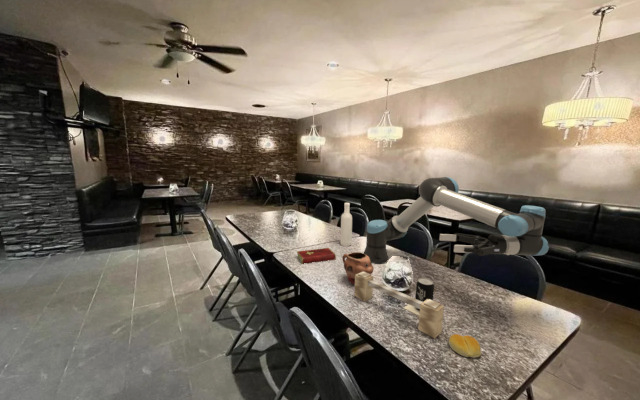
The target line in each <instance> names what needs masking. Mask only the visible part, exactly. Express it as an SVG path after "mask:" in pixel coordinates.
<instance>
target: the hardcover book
mask: <svg viewBox="0 0 640 400" xmlns="http://www.w3.org/2000/svg"><path fill="white" fill-rule="evenodd" d="M296 253H297V258H298V260H299V259H300V260H299V261H300V262H301V265H305V264H304V263H307V264H312V262H315V263H321V261H322V262H326V261H327V262H328V260H329V261H335V260H336V257H337V256H336V255H337V254H336V253H335V252H334V251H332V249H330V248H329V247H325V248H317V249H316V248H315V249H308V250H307V249H305V250H300V251H299V250H298V251H296Z"/></svg>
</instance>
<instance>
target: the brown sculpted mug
mask: <svg viewBox="0 0 640 400" xmlns="http://www.w3.org/2000/svg"><path fill="white" fill-rule="evenodd" d="M342 263H343V269H344V272H345V274H346V277H347V280H348V282H349V283H350V284H351V285H354V286H355V275H356V274H358V273H360V272H363V271H364V272H366V273H368V274H371V275H372V274H373V272H374V269H375V267H374V265H373V263H371V261H370V258H369V257H368V256H367V255H365V254H364V252H358V251H357V252H356V251H354V252H350V253H344V254H343V255H342Z"/></svg>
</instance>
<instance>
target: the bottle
mask: <svg viewBox="0 0 640 400" xmlns="http://www.w3.org/2000/svg"><path fill="white" fill-rule="evenodd" d="M350 205H351V203H350V202H344V205H343V206H344V211H343V212H344V213H342V214H341V216H340V245H341V246H344V247H351V246H352V242H353V241H352V239H353V238H352V236H353V235H352V233H353V215H352V214H351V213H350V208H351V207H350ZM350 245H351V246H350Z"/></svg>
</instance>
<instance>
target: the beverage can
mask: <svg viewBox="0 0 640 400" xmlns="http://www.w3.org/2000/svg"><path fill="white" fill-rule="evenodd" d="M415 285H416V287H415V299H417V300H419V301H421V302H424V301H425V300H426V299H428V300H429V299H430V300H433V301H434V294H435V293H434V292H435V285H434V281H433V280H431V279H430V278H427V277H419V278H418V279H417V281H416V284H415ZM417 310H419V311H420V309H418V308H417Z"/></svg>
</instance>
